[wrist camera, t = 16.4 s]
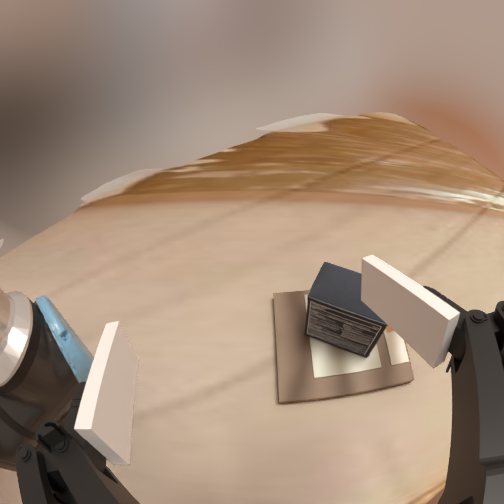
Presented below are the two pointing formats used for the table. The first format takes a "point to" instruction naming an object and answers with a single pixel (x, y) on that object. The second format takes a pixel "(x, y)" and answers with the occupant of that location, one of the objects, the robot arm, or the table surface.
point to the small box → (341, 312)
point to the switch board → (330, 359)
